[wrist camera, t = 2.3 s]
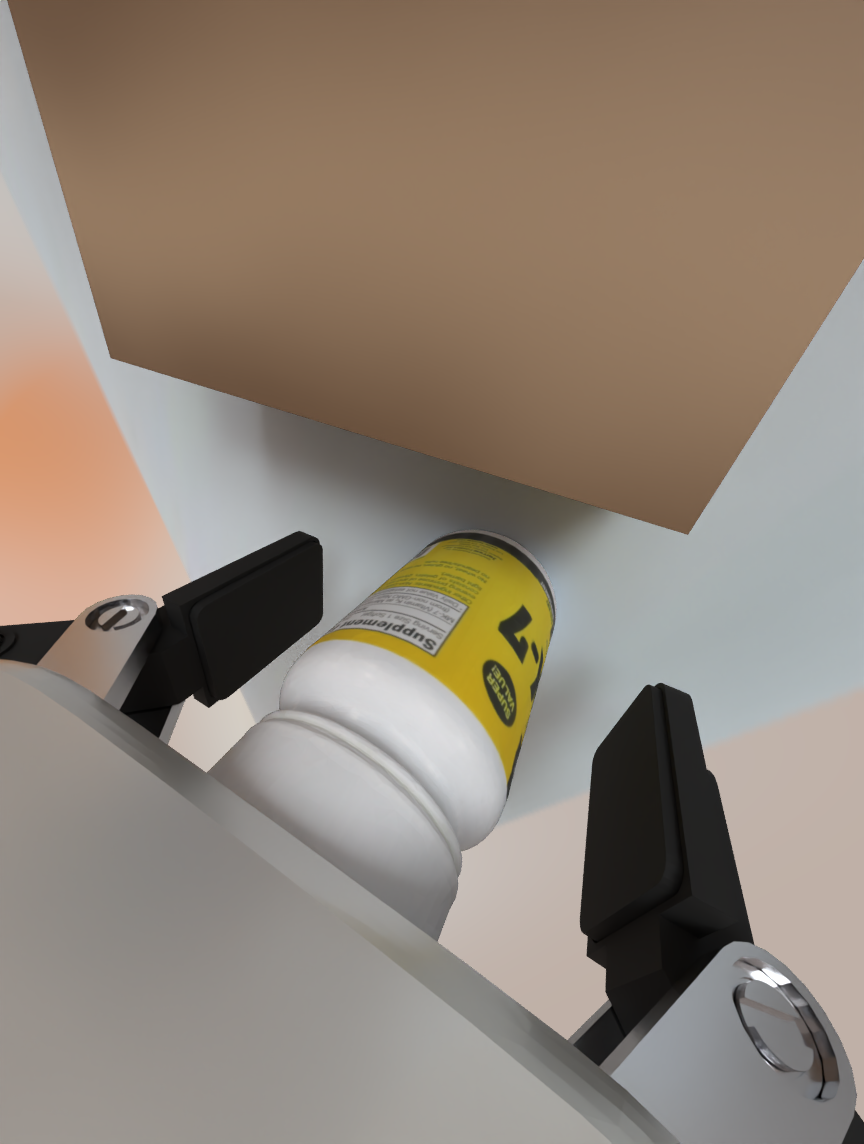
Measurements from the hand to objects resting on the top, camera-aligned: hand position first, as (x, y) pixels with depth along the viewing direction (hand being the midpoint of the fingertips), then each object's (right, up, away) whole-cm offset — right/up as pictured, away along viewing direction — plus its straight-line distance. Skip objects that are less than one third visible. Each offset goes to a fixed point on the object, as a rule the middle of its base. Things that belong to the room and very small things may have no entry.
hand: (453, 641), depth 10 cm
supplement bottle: (+1, +1, +2) cm, 3 cm away
